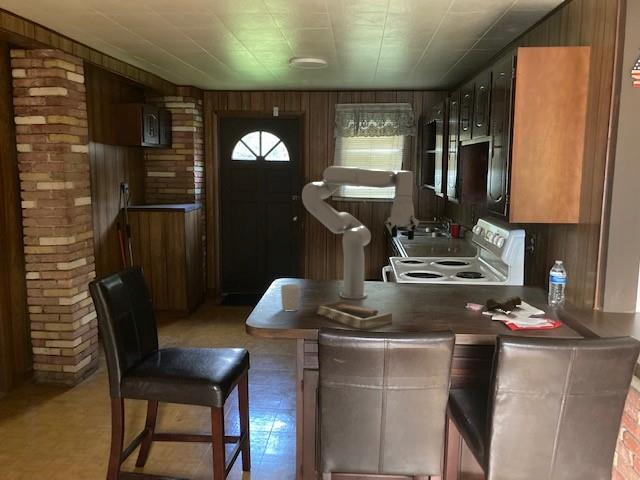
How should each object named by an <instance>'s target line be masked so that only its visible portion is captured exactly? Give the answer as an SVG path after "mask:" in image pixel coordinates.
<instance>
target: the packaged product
mask: <svg viewBox="0 0 640 480" xmlns="http://www.w3.org/2000/svg"><path fill="white" fill-rule="evenodd" d="M335 310H337V311H340V312H343V313H346V314H350V315H353V316H356V317H359V318H362V319H365V318H369V317H373V316H377V315H378V314H379V310H377V309H375V308H374V309H372V308H367V307H362V306H356V305H351V304H348V303H347V304H341V305H339V306H337V307H336V309H335Z"/></svg>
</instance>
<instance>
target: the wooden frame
mask: <svg viewBox="0 0 640 480" xmlns="http://www.w3.org/2000/svg"><path fill="white" fill-rule="evenodd" d="M341 304H347V305H348V300H347V299H342V300H336V301H332V302H327V303H322V304H317V305H316V313H318V314H321V315H324V316H326V317H325V318H327V317H329V318H328V319H330V318H331V320H333V319H334V320H333V321H336V322H339V323H342V324H346V325H348V326H351V327H353V328H357V329H360V330H363V331H364V330H368V329H371V328H375V327H379V326H383V325H386V324H391V323H393V313H392V312H386V313H382V314H377V316H373V317H369V318H365V319H362V318H359V317H356V316H353V315H350V314H346V313H343V312H340V311H337V310H335V309H336V307H337V306H339V305H341ZM316 313H315V314H316ZM318 314H317V315H318ZM321 315H320V316H321ZM324 316H323V317H324Z"/></svg>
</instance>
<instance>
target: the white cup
mask: <svg viewBox="0 0 640 480" xmlns="http://www.w3.org/2000/svg"><path fill="white" fill-rule="evenodd" d="M280 293H281V298H280V299H281V304H282V305H281V309H282V308H283V309H284V310H297V309H298V308H299V307H300V297H301V296H300V295H301V286H300V285H299V284H294V283H292V284H291V283H288V284H282V285H281V286H280ZM299 309H300V308H299ZM299 309H298V310H299Z"/></svg>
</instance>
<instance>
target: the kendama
mask: <svg viewBox="0 0 640 480" xmlns="http://www.w3.org/2000/svg"><path fill="white" fill-rule="evenodd" d="M522 304H523V303H522V299H521V297H519V295H513V296H512V297H508V298H506V300H504V301H499V300H497V299H495V298H494V297H491V296H490V297H488V298H487V300H486V303H485V306H486V307H485V308H486V309H487V310H488V311H493V310H499V309H501V310H500V311H502V310H503V311H505V312H507V311H511V312H512V311H513V308H514V307H513V306H516V305H521V306H522ZM503 311H502V312H503Z"/></svg>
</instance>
